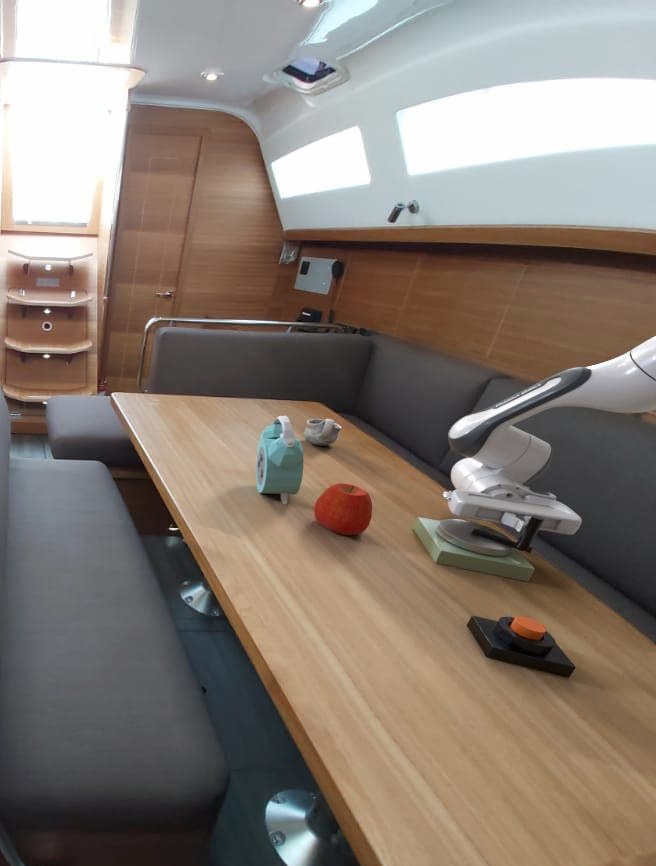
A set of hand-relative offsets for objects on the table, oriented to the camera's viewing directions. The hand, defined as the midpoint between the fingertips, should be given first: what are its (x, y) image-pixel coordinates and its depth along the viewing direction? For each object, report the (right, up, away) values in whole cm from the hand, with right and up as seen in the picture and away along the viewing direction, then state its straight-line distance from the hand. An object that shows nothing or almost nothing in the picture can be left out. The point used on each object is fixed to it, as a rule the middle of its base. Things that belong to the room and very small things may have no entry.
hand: (528, 529), depth 97 cm
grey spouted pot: (-2, +21, +63) cm, 67 cm away
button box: (-21, -17, -18) cm, 32 cm away
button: (-21, -14, -19) cm, 31 cm away
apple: (-27, -1, +16) cm, 32 cm away
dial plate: (-5, -6, +8) cm, 11 cm away
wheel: (-5, -3, +6) cm, 8 cm away
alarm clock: (-35, +6, +31) cm, 47 cm away
